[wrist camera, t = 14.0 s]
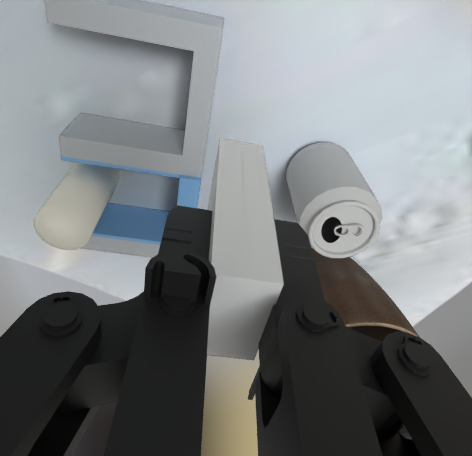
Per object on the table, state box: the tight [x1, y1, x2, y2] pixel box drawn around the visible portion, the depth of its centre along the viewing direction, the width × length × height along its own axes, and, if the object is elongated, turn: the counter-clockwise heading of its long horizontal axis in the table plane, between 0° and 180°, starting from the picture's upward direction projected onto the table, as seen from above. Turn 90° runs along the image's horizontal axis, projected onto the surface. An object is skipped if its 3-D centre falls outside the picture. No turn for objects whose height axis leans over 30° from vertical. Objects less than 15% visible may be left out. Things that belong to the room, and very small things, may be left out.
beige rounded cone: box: [34, 162, 120, 250], centre depth 37 cm, size 5×5×11 cm
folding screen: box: [45, 0, 224, 258], centre depth 36 cm, size 24×13×7 cm, turn 170°
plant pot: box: [311, 248, 419, 341], centre depth 44 cm, size 15×15×16 cm
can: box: [286, 142, 382, 258], centre depth 37 cm, size 8×8×12 cm
